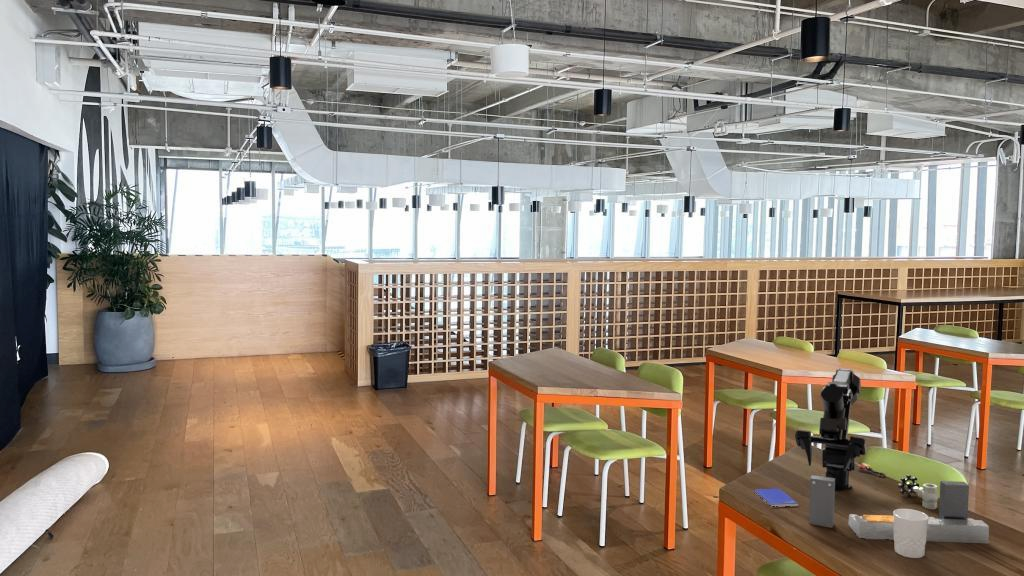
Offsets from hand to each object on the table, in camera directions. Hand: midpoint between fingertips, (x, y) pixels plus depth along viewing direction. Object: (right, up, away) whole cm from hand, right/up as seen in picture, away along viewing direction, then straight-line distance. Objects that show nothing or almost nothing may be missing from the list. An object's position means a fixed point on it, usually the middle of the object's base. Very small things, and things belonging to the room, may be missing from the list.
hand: (826, 467), depth 219 cm
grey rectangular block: (-4, -14, -6) cm, 16 cm away
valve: (+32, -13, +10) cm, 36 cm away
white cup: (+11, -16, -24) cm, 31 cm away
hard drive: (-10, -13, +13) cm, 21 cm away
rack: (+19, -15, -13) cm, 27 cm away
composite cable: (+29, -11, +36) cm, 48 cm away
